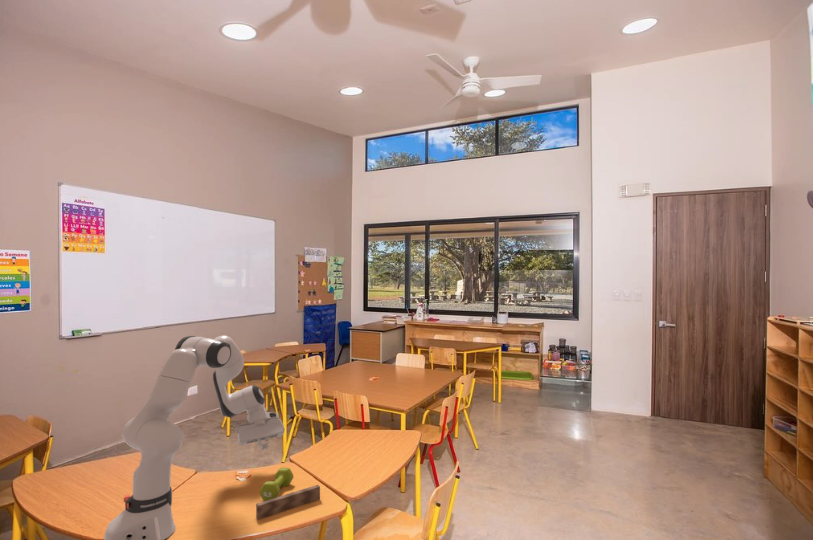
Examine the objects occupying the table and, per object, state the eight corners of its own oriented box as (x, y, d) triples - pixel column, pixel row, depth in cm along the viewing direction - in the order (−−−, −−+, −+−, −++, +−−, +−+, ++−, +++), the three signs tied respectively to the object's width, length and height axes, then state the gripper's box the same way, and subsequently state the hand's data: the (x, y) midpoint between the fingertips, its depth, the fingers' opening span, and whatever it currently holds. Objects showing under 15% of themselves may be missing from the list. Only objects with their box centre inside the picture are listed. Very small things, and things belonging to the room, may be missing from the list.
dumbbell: (276, 504, 160) (276, 485, 160) (257, 502, 162) (257, 483, 162) (295, 484, 176) (294, 466, 177) (277, 482, 178) (277, 465, 178)
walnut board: (257, 520, 149) (257, 506, 149) (256, 517, 151) (256, 503, 151) (320, 499, 163) (319, 486, 163) (318, 497, 164) (317, 484, 165)
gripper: (236, 421, 184) (241, 450, 175) (281, 412, 196) (288, 439, 187) (233, 428, 187) (239, 458, 179) (278, 419, 199) (285, 446, 191)
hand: (264, 448), depth 183 cm, fingers closed
